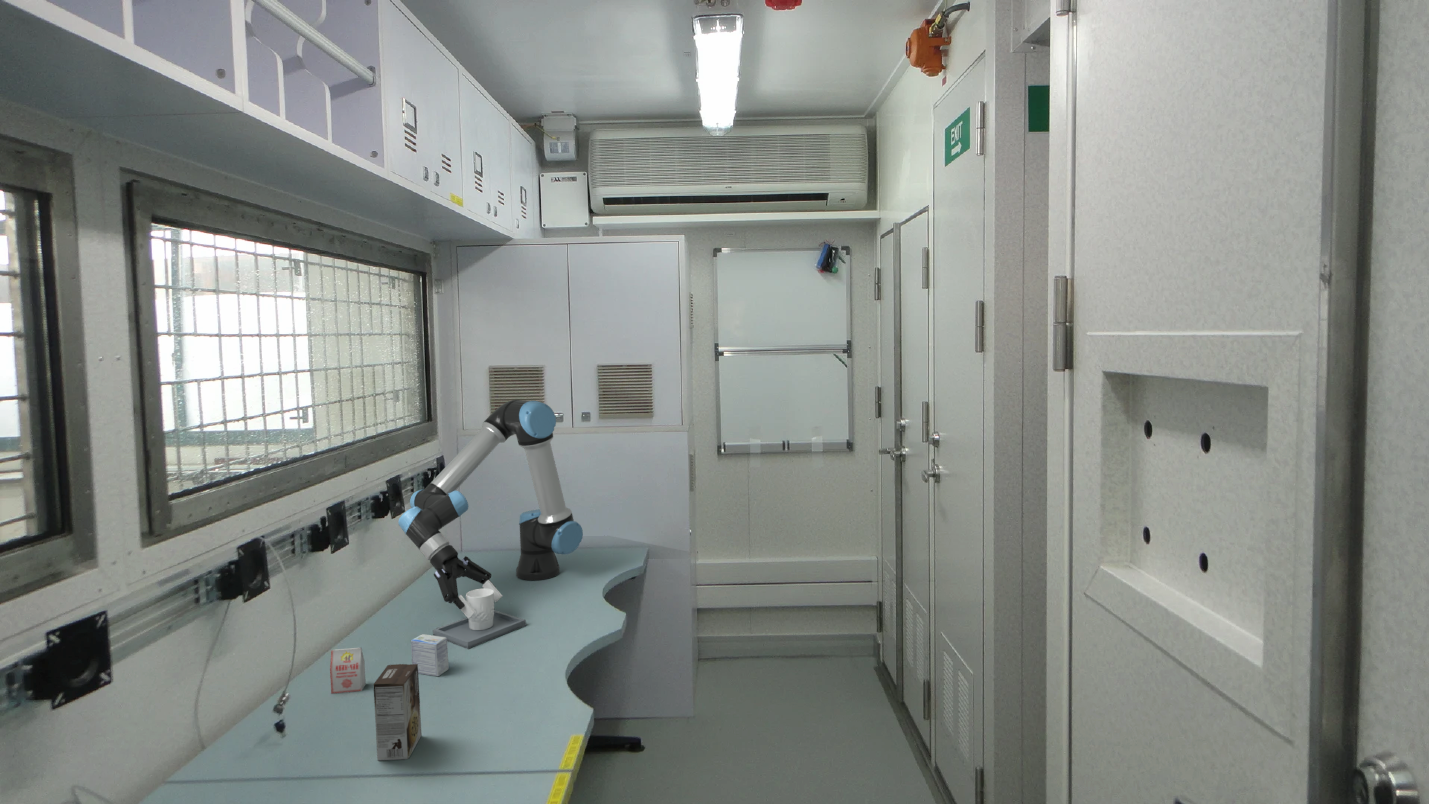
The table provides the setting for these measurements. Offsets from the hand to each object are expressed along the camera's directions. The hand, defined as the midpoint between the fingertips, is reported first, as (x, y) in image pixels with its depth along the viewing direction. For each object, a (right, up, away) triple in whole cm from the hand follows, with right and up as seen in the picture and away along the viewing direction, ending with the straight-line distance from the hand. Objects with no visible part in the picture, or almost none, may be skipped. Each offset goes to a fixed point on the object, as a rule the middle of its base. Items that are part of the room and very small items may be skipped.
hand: (486, 607), depth 218 cm
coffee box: (+1, -12, -63) cm, 64 cm away
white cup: (-2, -6, +2) cm, 7 cm away
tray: (-2, -7, 0) cm, 7 cm away
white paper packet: (-22, -10, -36) cm, 43 cm away
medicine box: (-6, -9, -27) cm, 29 cm away
